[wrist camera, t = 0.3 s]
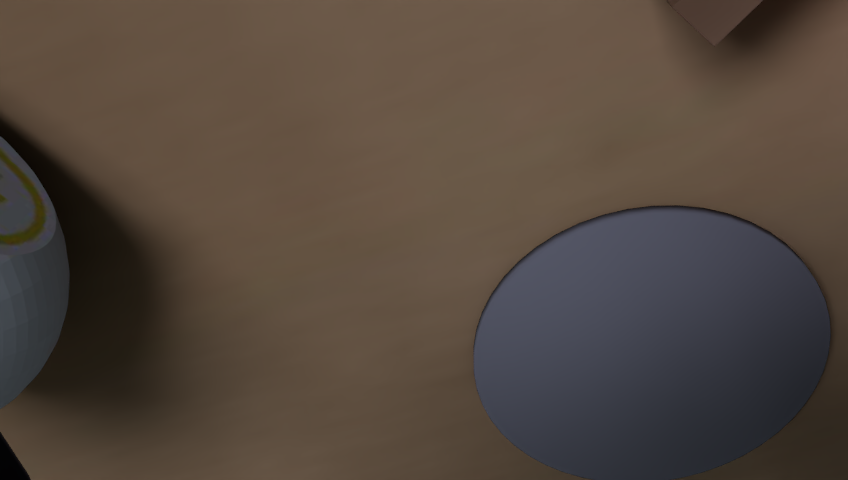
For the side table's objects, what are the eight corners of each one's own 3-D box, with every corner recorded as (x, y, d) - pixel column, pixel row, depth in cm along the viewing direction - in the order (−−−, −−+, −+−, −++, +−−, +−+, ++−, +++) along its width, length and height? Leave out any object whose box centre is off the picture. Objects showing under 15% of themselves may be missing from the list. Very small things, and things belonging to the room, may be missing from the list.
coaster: (898, 340, 23) (905, 349, 23) (637, 515, 27) (639, 525, 27) (656, 132, 20) (659, 140, 20) (404, 367, 24) (403, 377, 24)
